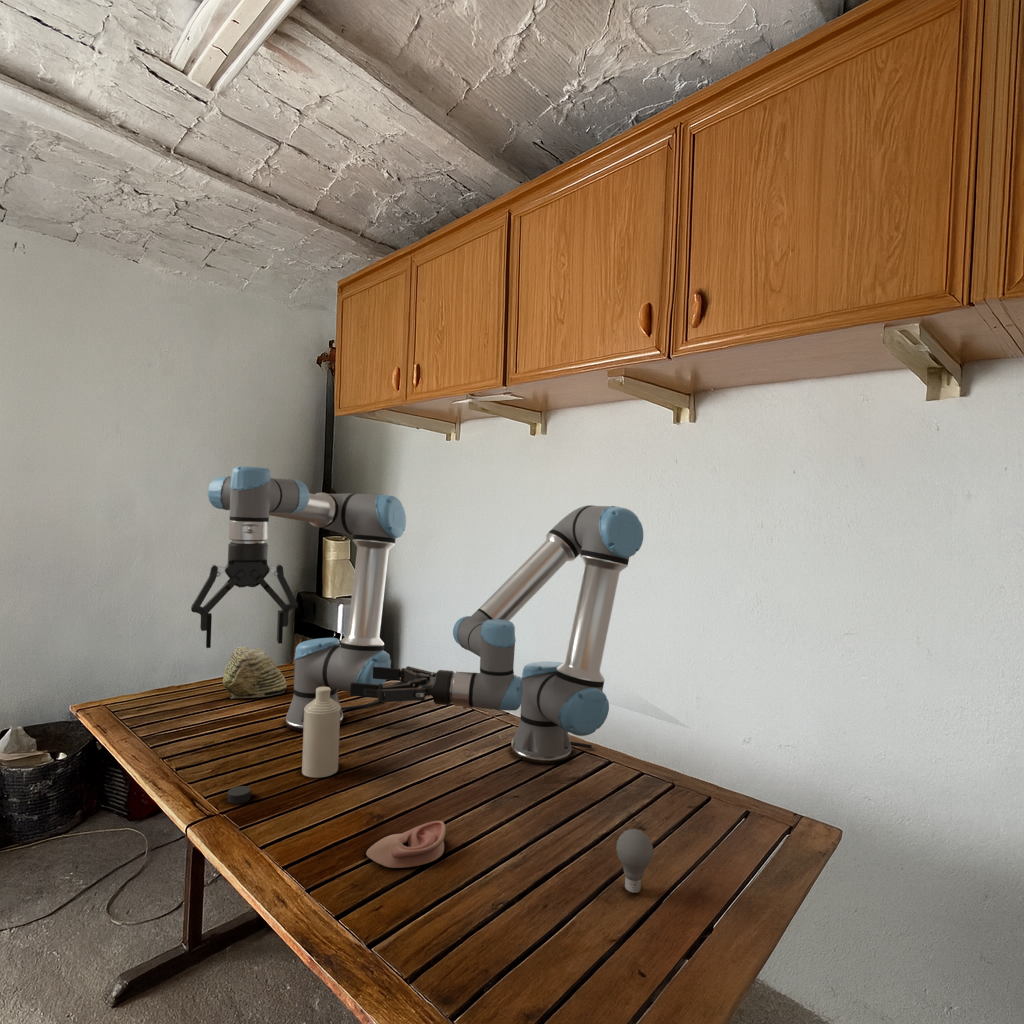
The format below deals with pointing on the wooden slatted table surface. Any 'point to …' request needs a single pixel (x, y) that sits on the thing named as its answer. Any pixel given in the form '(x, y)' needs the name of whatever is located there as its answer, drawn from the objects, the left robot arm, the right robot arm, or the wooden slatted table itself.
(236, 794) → the cap
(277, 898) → the wooden slatted table surface
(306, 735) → the bottle
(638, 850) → the light bulb
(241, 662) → the fossil
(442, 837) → the anatomical model
